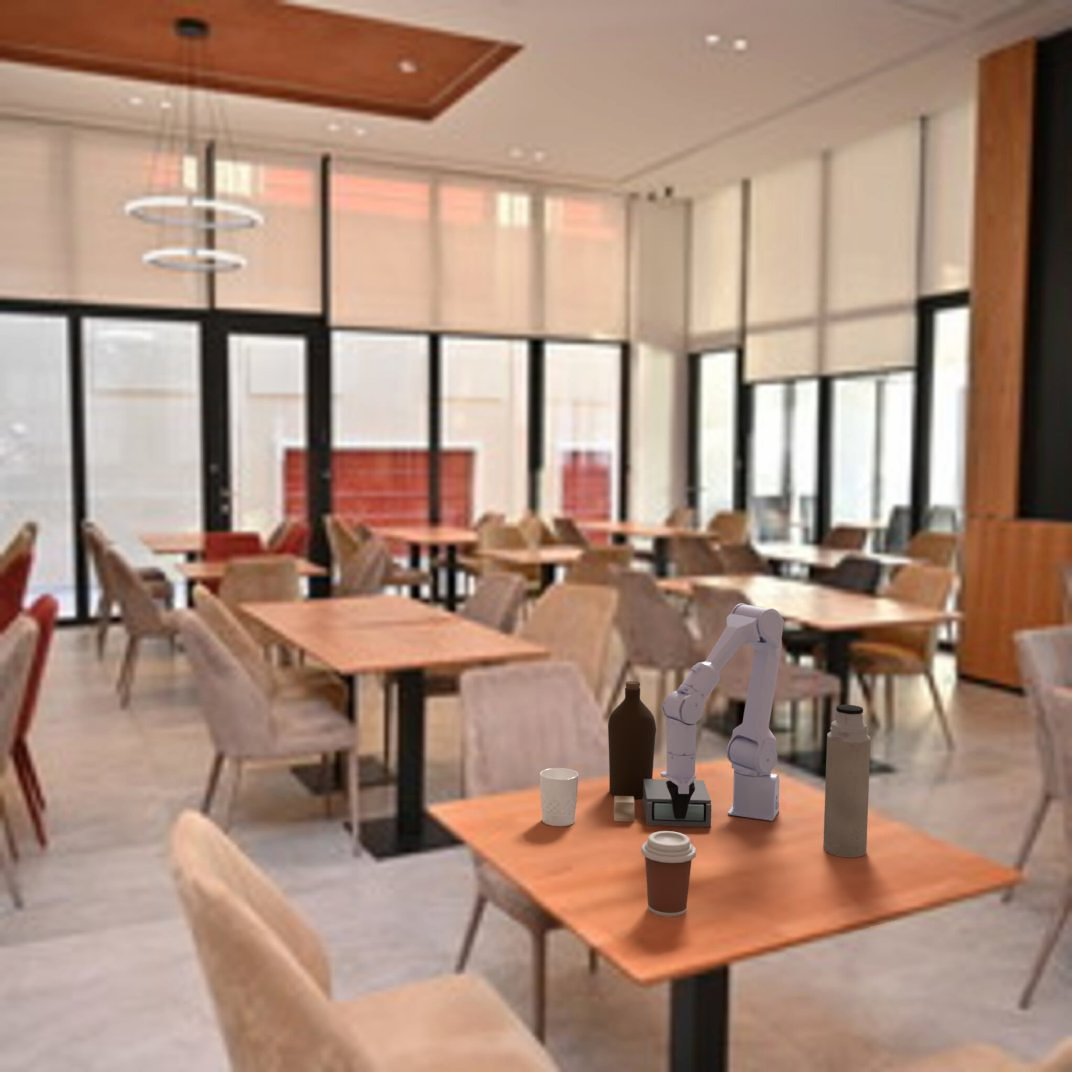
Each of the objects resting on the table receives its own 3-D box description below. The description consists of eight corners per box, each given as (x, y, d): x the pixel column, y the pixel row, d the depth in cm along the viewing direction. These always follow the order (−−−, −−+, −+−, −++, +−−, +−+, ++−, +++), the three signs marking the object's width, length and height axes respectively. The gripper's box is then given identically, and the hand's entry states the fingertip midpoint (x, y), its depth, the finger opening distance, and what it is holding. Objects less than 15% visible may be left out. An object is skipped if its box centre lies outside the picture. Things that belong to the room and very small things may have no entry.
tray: (697, 801, 229) (697, 787, 228) (703, 820, 217) (703, 805, 216) (650, 800, 229) (650, 786, 229) (654, 819, 217) (654, 804, 217)
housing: (702, 803, 231) (703, 780, 231) (710, 827, 217) (711, 802, 216) (642, 802, 232) (643, 778, 231) (646, 825, 217) (647, 800, 217)
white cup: (578, 828, 215) (578, 779, 214) (538, 827, 215) (539, 778, 214) (577, 815, 223) (578, 768, 222) (539, 814, 223) (540, 767, 222)
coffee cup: (705, 908, 177) (707, 838, 176) (672, 925, 171) (674, 852, 170) (662, 892, 184) (663, 824, 183) (628, 908, 177) (630, 837, 176)
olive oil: (625, 803, 231) (627, 689, 229) (597, 789, 240) (599, 680, 238) (664, 795, 236) (666, 684, 234) (635, 782, 245) (637, 675, 243)
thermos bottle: (835, 839, 211) (840, 699, 208) (873, 849, 205) (879, 706, 203) (815, 849, 205) (820, 706, 203) (854, 861, 199) (859, 713, 197)
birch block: (633, 815, 223) (633, 796, 223) (633, 821, 219) (634, 802, 219) (613, 814, 223) (614, 795, 223) (614, 820, 219) (614, 801, 219)
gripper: (658, 741, 222) (657, 805, 223) (663, 761, 207) (662, 829, 208) (693, 742, 221) (691, 806, 222) (700, 762, 207) (698, 830, 208)
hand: (679, 817), depth 215 cm, fingers closed
